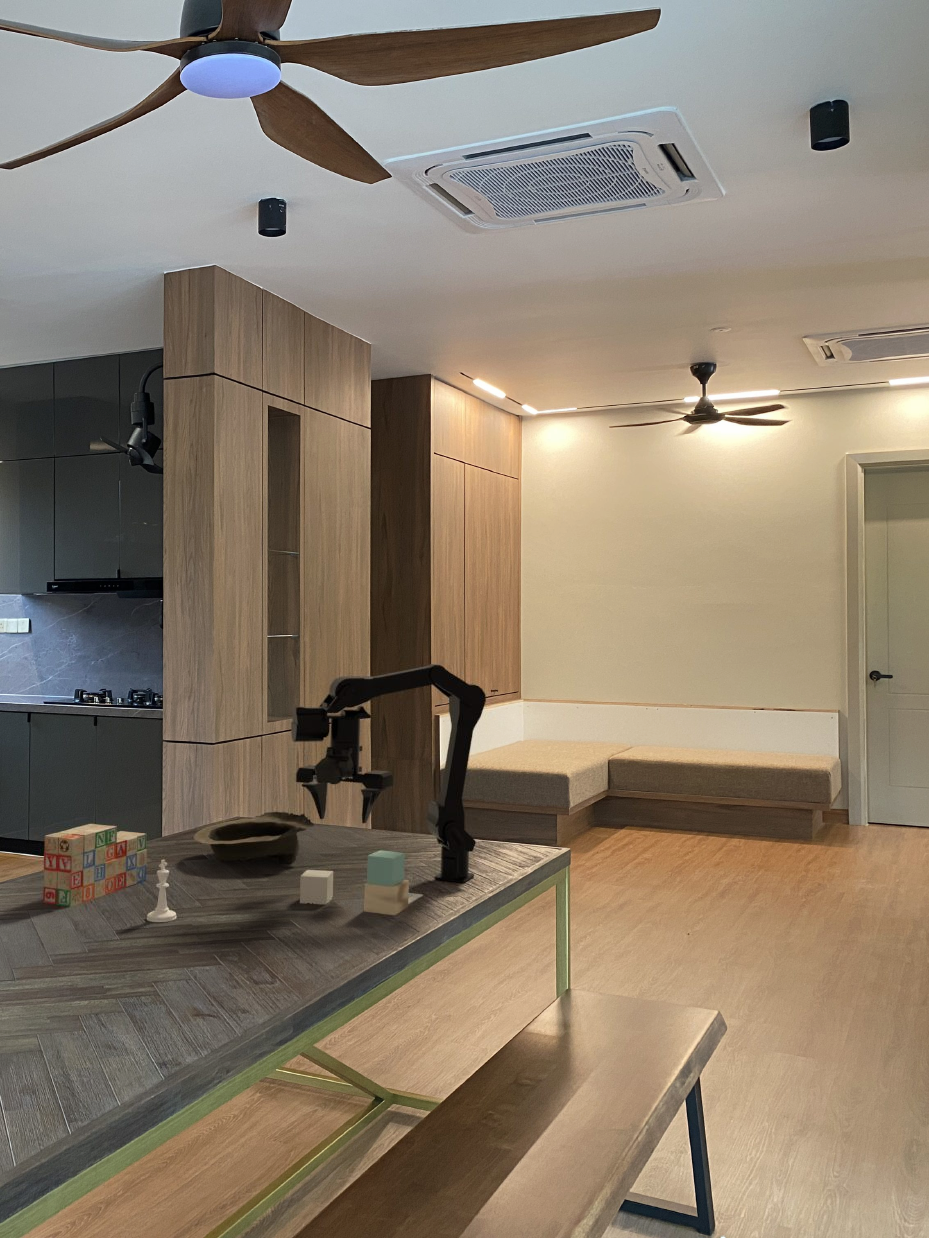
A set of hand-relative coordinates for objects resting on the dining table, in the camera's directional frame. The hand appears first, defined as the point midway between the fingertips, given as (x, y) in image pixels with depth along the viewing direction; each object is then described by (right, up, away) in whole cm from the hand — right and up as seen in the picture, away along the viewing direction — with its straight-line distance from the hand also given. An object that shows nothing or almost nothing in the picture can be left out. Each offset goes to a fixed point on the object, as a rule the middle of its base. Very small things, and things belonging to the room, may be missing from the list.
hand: (343, 820), depth 208 cm
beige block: (-4, -13, -12) cm, 17 cm away
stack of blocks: (-45, -12, -9) cm, 47 cm away
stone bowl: (-22, -12, +20) cm, 32 cm away
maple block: (+10, -13, -16) cm, 23 cm away
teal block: (+10, -8, -16) cm, 21 cm away
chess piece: (-28, -12, -26) cm, 40 cm away
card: (+11, -13, -9) cm, 19 cm away
